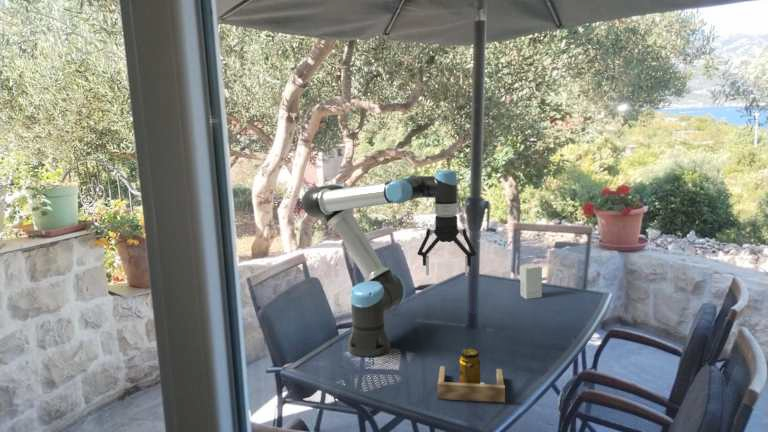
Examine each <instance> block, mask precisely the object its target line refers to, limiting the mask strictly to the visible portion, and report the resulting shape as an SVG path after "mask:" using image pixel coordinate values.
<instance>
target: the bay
mask: <svg viewBox="0 0 768 432" xmlns="http://www.w3.org/2000/svg"><path fill="white" fill-rule="evenodd" d="M438 372H439V373H438V381H437V384H436V385H437V386H436V387H437V389H436V390H437V393H436V394H437V399H438V400H456V401H458V400H459V401H472V402H473V401H474V402H490V403H491V402H492V403H506V385H505V383H504V378H503V370H502V368H496V384H493V383H492V384H491V383H489V384H488V383H484V384H474V383H460V382H451V381H450V382H449V381H445V380H446V379H445V378H446V366H443V365H440V366H439V371H438Z"/></svg>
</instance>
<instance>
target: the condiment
mask: <svg viewBox="0 0 768 432" xmlns="http://www.w3.org/2000/svg"><path fill="white" fill-rule="evenodd" d="M479 355H480V353H479V351H478V350H476V349H474V348H464V349H462V350H461V352H460V359H459V383H474V384H485V382H484V381H483V382H482V381H481V361H480V356H479Z"/></svg>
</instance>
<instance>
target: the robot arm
mask: <svg viewBox="0 0 768 432" xmlns="http://www.w3.org/2000/svg"><path fill="white" fill-rule="evenodd" d="M419 198H424V199H425V198H431V199H433V198H434V212H435V218H434V223H435V224H434V225H435V226H434V227H435V228H434V229H432V228H430V227H429V228H427V229H426V231H425V232H426V234H425V236H424V239H423V241H422V243H421V245H420V247H419V249H418V251H417V253H416V254H417V256H421V257H422V266H425V275H426V276H429V275H430V267H429V266H430V264H429V263H430V258H429V257H430V256H429V255H428V254H429V253H430V252H431V251H432V249H433V248H435V246H436V245H437V244H438V243H439V242H441V243H451V242H454V244H456V246H457V247H459V249H460V250H461V251H462V253H464V254H465V256H464V263H465V264H464V265H465V267H464V275H465V277H468V274H469V273H468V267H471V265H472V257H474V256H477V252H476V249H475V247H474V245H473V244H472V241H471V239H470V237H469V236H468V233H467V232H468V231H467V229H466V228H462V229H461V228H460V229H458V216H457V214H458V177H457V172H456V171H455V170H453V169H442V170H441V169H440V170H436V171H435V172H434V175H431V176H430V175H429V176H426V175H425V176H424V175H408V176H405V177H403V178H401V179H394V180H390V181H389V180H388V181H383V182H375V183H369V184H364V185H363V184H362V185H357V186H352V187H351V186H350V187H346V186H344V185H343V184H340V183H339V184H338V183H336V184H335V183H331V184H328V185H323V186H316V187H312V188H310V189H308V190H307V191H305V193H304V194H303V197H302V199H301V206H302V208H303V211H304V213H305V214H306V215H308V216H309V217H312V218H316V219H317V218H324V219H325V221H326V222H327V224H328V225H332V226H333V227H334V228H335V230H336V232H337V234H338V235H339V237H340V238H341V240H342V242H343V243H344V246H345V247H346V249H347V250H348V252H349V254H350V256H351V258H352V259H353V261H354V263H355V264H356V266H357V267H358V269H359V271H360V273H361V274H362V276H363V278H364V280H363V281H362V282H359V283H357V284H356V285H354V286H353V288H352V289H351V291H350V292H351V293H350V295H351V296H350V302H351V303H350V304H351V305H350V306H351V321H352V322H351V323H352V327H351V328H352V329H351V332H350V333H351V334H350V336H349V339H348V351H349V352H350V354H352V355H355V356H359V357H365V358H366V357H367V358H369V357H377V356H380V355H384V354H386V353H388V352H389V351H390V349H391V340H390V337H389V334H388V332H387V330H386V329H387V328H386V326H385V323H386V322H385V321H386V320H385V314H386V313H387V312H389V311H390V310H392V309H394V308H396V307H397V306H399V305H400V304H401V303H402V302H403V301H404V299H405V297H406V294H407V293H406V292H407V288H406V284H405V282H404V280H403V278H401V276H399V275H396V274H393V272H392V270H391V269H390V267H386V266H384V265H383V262H382V261H381V260H380V258H379V257H378V255H377V253H376V251H375V249H374V248H373V247H372V244H371V243H370V241H369V240H368V238H367V236H366V235H365V233H364V230H362V228H361V226H360V225H359V223H358V221H357V219H356V218H355V216H354V214H353V213H354V209H359V208H367V207H374V206H381V205H382V206H383V205H388V204H389V205H390V204H402V203H406V202H409V201H412V200H417V199H419ZM433 234H434V235H435V236H436V238H435V239H434V240H433V241H432V242H431V243H430V245H429V246H428V247H427V248H426V249H425V250H424V248H425V246H426V245H427V243H428V240H429V238H430V236H432V235H433ZM459 234H460V236H463V238H464V240H465V242H466V245H467V247H468V248H469V250H470V251H469V250H468V249H467V248H466V247H465V245H464V244H463V243H462V241H460V239H459V238H458V237H457V236H458V235H459ZM423 250H424V251H423Z"/></svg>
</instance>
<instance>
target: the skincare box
mask: <svg viewBox="0 0 768 432" xmlns="http://www.w3.org/2000/svg"><path fill="white" fill-rule="evenodd" d="M519 267H520V272H519V275H520V278H519V281H520V283H519V285H520V286H519V287H520V296H521V297H522V298H524V299H525V300H531V299H537V298H542V297H543V292H542V288H543V285H542V284H543V266H541V265H538V264H537V263H533V264H532V263H531V264H524V265H520V266H519Z"/></svg>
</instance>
